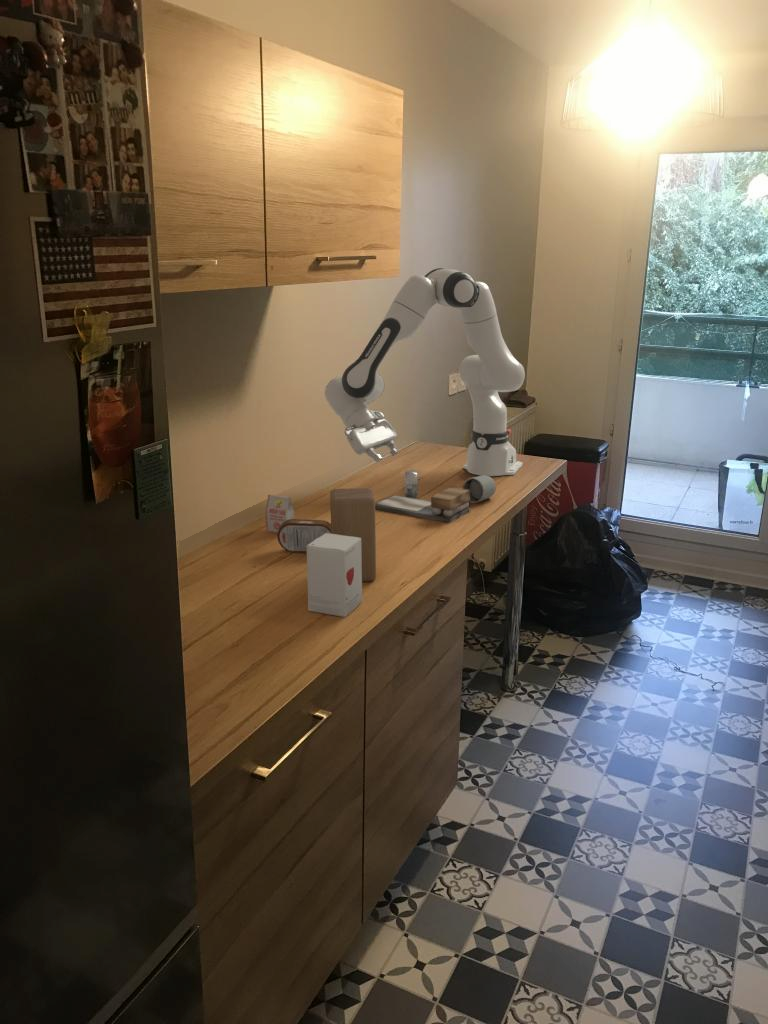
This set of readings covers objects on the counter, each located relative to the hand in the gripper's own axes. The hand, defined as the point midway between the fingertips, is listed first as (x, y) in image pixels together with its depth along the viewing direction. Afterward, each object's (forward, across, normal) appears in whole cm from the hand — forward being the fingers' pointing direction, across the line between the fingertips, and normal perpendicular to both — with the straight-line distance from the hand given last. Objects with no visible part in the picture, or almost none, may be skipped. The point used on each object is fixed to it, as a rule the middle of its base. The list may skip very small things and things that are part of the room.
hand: (388, 457), depth 258 cm
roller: (+14, 0, +2) cm, 14 cm away
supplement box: (+34, -79, -18) cm, 88 cm away
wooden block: (+29, -62, -12) cm, 70 cm away
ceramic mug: (+27, +8, -10) cm, 30 cm away
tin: (+16, -55, +1) cm, 57 cm away
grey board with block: (+20, -10, -4) cm, 23 cm away
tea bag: (+4, -46, +12) cm, 48 cm away
